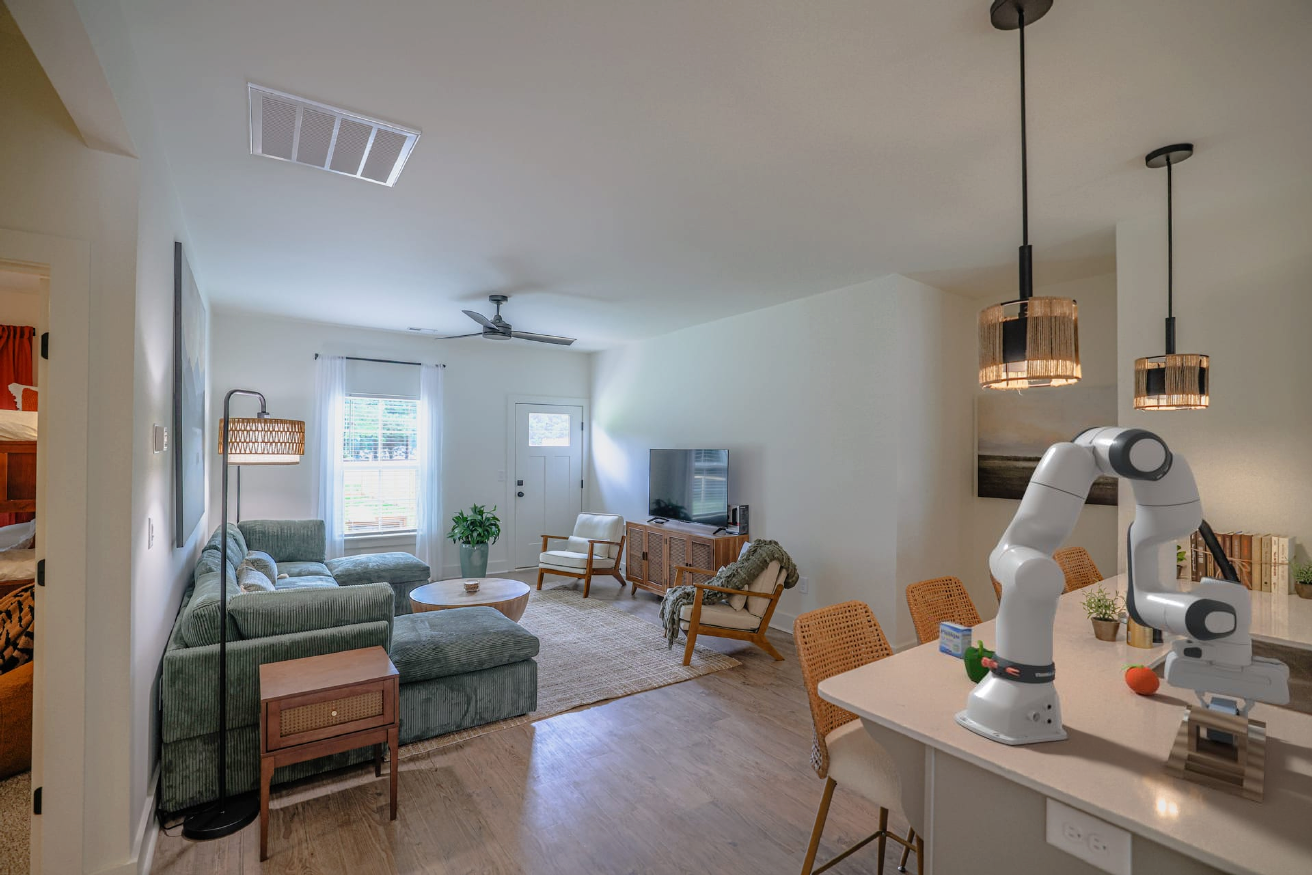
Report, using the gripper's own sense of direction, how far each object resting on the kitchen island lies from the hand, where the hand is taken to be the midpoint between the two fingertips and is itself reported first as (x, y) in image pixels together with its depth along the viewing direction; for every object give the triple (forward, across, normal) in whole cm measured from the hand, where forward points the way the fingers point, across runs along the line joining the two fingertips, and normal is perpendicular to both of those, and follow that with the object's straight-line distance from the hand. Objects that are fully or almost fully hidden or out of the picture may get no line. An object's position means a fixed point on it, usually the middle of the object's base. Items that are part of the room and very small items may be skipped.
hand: (1223, 714), depth 135 cm
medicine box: (+4, +55, -23) cm, 60 cm away
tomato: (+3, +13, -16) cm, 21 cm away
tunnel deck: (+3, +4, +15) cm, 16 cm away
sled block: (+1, +2, +6) cm, 7 cm away
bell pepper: (+4, +47, -3) cm, 48 cm away
